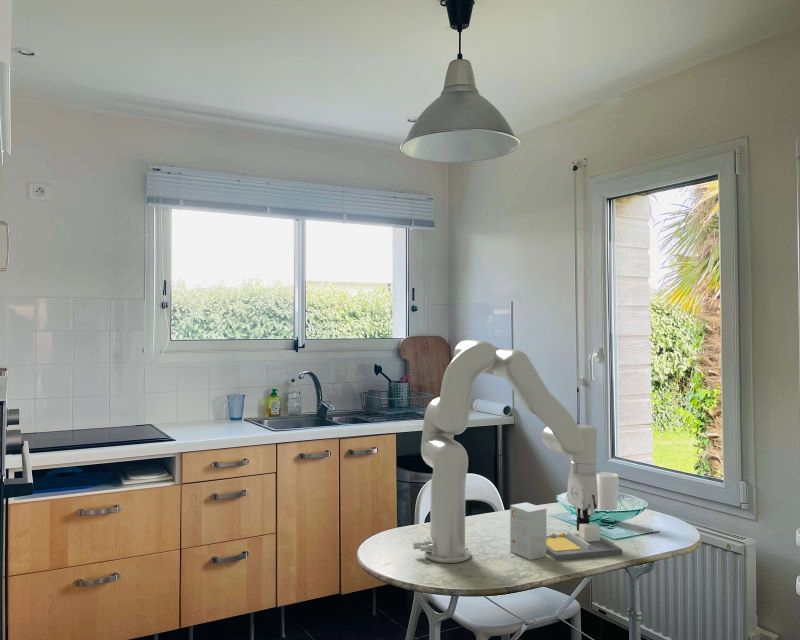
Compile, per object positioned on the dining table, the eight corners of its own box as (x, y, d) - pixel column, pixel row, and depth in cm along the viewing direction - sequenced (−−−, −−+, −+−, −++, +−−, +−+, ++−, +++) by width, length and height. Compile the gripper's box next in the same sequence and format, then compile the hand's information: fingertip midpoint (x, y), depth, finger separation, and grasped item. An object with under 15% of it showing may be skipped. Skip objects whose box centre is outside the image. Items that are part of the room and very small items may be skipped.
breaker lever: (584, 542, 187) (584, 527, 187) (579, 538, 190) (579, 524, 190) (600, 540, 188) (600, 526, 188) (594, 537, 191) (594, 522, 191)
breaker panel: (555, 560, 177) (555, 551, 177) (531, 542, 192) (531, 533, 192) (622, 554, 182) (622, 545, 182) (593, 537, 197) (593, 528, 197)
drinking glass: (610, 517, 217) (610, 471, 217) (622, 523, 211) (623, 476, 211) (592, 518, 215) (592, 472, 215) (604, 525, 209) (604, 477, 209)
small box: (547, 556, 181) (547, 508, 181) (529, 560, 177) (529, 512, 177) (526, 547, 187) (526, 501, 188) (509, 551, 184) (509, 504, 184)
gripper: (559, 463, 199) (558, 524, 199) (585, 474, 185) (584, 540, 185) (581, 461, 201) (581, 522, 201) (609, 472, 187) (608, 538, 186)
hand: (583, 530), depth 193 cm, fingers closed
